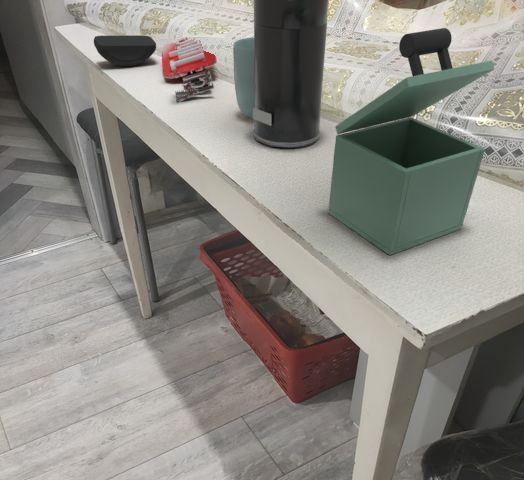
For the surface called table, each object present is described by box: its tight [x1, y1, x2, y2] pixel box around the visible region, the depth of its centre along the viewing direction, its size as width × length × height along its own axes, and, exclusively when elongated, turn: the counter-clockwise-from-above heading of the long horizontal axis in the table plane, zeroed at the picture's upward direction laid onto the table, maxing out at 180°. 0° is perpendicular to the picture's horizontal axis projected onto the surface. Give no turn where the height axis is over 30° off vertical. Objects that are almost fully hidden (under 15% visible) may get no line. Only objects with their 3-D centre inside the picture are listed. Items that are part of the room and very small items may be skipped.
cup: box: [232, 36, 255, 120], centre depth 77 cm, size 8×8×10 cm
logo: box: [161, 36, 218, 103], centre depth 93 cm, size 25×2×10 cm
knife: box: [190, 69, 210, 88], centre depth 94 cm, size 17×2×5 cm
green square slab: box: [334, 27, 495, 135], centre depth 48 cm, size 11×10×5 cm
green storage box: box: [328, 117, 486, 256], centre depth 54 cm, size 10×10×9 cm
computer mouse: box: [93, 35, 157, 67], centre depth 101 cm, size 6×11×4 cm, turn 112°
